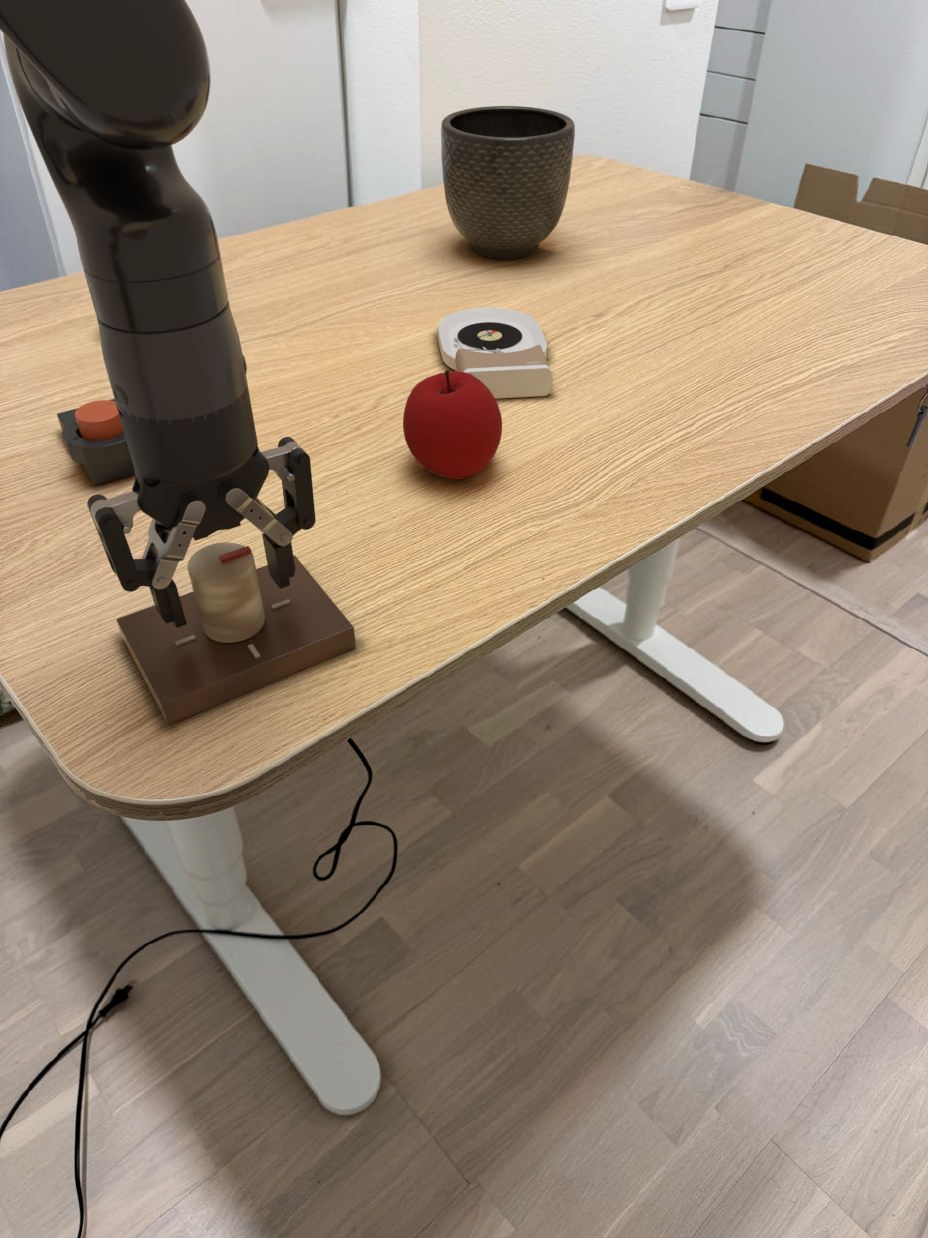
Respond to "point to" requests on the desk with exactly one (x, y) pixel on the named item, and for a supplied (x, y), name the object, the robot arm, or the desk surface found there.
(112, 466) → the button box
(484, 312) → the record player
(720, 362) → the desk surface
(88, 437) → the button
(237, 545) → the dial
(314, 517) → the robot arm
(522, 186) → the planter
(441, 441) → the apple
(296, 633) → the dial panel
